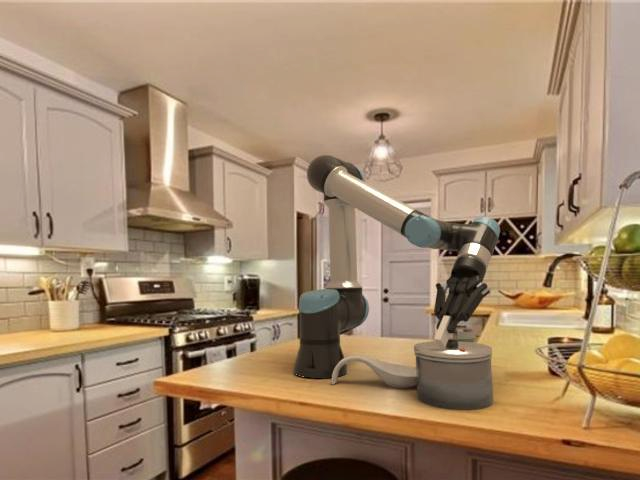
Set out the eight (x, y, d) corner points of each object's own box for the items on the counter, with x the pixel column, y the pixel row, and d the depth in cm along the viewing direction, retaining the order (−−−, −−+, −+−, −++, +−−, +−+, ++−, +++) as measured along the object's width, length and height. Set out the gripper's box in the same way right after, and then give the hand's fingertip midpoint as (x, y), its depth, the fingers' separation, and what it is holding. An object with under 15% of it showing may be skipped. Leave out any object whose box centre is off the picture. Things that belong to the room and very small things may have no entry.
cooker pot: (442, 383, 103) (440, 342, 104) (509, 395, 92) (506, 350, 93) (401, 399, 91) (400, 353, 92) (473, 415, 79) (470, 363, 80)
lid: (437, 342, 103) (436, 332, 104) (504, 350, 92) (503, 338, 92) (399, 352, 92) (399, 340, 92) (470, 362, 80) (470, 348, 80)
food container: (480, 367, 120) (478, 332, 121) (458, 366, 122) (457, 332, 122) (473, 358, 132) (472, 327, 133) (453, 358, 134) (452, 327, 134)
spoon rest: (424, 380, 108) (423, 352, 108) (428, 392, 96) (427, 361, 97) (334, 378, 111) (334, 351, 112) (328, 390, 100) (328, 360, 101)
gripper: (502, 276, 98) (475, 357, 85) (452, 276, 108) (420, 350, 94) (491, 253, 95) (461, 334, 82) (440, 256, 104) (406, 329, 91)
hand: (439, 343), depth 88 cm, fingers closed
